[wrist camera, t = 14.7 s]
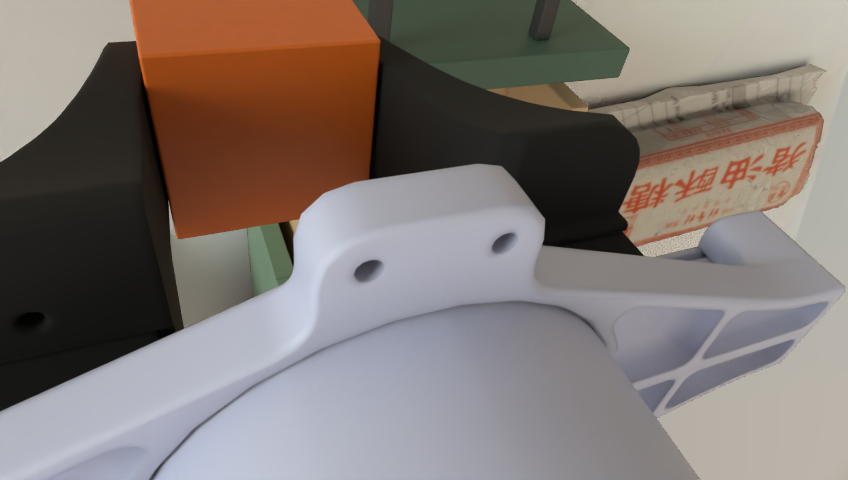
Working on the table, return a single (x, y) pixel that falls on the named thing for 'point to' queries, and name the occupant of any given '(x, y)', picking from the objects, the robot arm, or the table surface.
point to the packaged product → (718, 151)
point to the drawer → (499, 48)
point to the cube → (256, 105)
